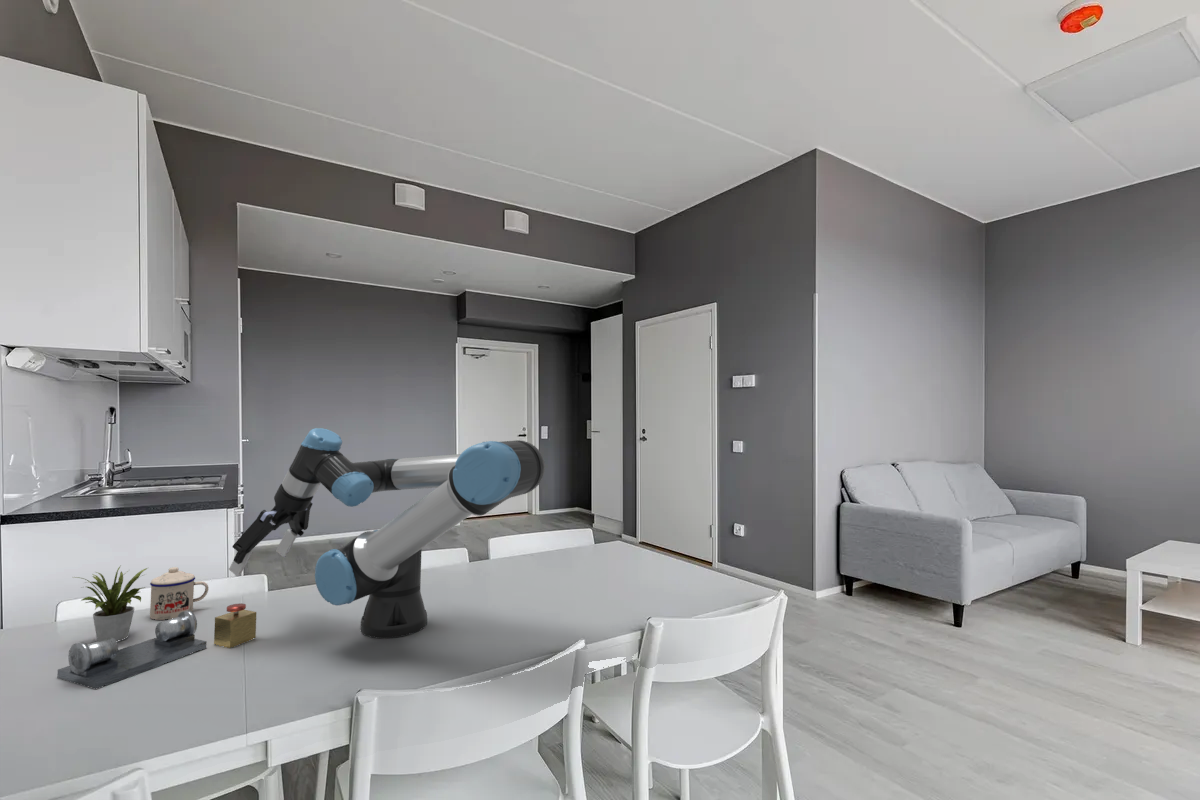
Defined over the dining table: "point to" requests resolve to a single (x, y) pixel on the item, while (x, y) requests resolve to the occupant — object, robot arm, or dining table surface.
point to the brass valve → (235, 626)
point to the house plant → (113, 607)
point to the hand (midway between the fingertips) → (258, 562)
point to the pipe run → (131, 653)
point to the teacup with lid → (173, 594)
